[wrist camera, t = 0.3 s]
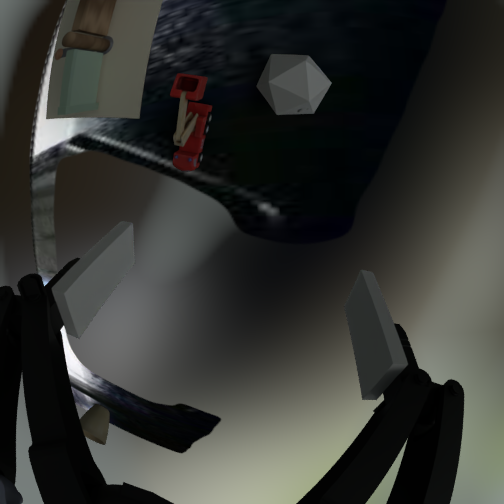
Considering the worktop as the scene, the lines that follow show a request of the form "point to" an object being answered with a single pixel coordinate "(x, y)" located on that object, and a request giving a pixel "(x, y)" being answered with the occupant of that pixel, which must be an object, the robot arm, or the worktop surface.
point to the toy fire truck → (190, 121)
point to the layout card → (111, 60)
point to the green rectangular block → (80, 81)
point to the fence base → (91, 25)
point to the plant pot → (96, 424)
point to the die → (293, 84)
